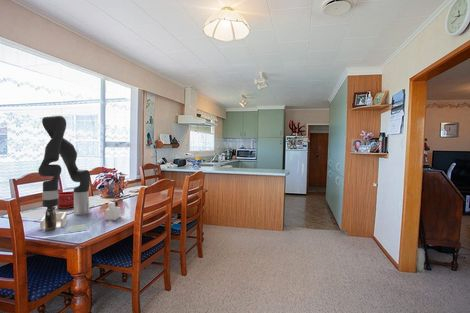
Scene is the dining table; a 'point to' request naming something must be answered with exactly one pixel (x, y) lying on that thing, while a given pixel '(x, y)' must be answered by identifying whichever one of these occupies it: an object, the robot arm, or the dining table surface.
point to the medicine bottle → (112, 211)
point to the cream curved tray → (60, 220)
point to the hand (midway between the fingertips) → (50, 225)
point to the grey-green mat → (76, 228)
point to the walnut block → (52, 223)
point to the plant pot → (66, 200)
